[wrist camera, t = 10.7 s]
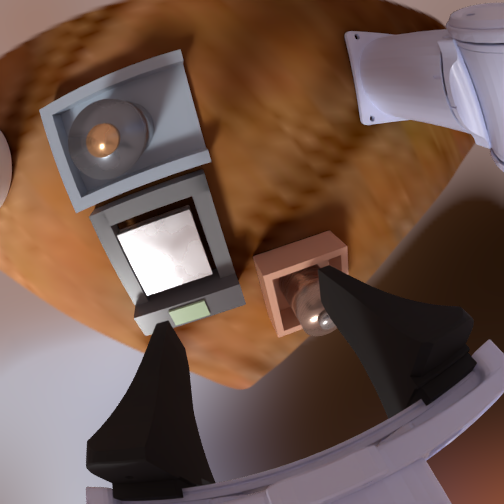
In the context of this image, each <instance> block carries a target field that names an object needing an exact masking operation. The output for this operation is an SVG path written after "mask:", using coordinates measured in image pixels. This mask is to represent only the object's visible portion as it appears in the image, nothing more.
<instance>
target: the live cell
mask: <svg viewBox="0 0 504 504" xmlns="http://www.w3.org/2000/svg"><path fill="white" fill-rule="evenodd" d="M153 134H154V123H153V120H152V117H151V115H150V113H149V112H148V111H147V110H146V109H145V108H144V107H143V106H141V105H139V104H137V103H133V102H128V101H123V100H118V99H102V100H98V101H95V102H93V103H91V104H89V105H88V106H86V107H85V108H84V109H83V110H82V111H81V112H80V113H79V114H78V115H77V117H76V118H75V120H74V121H73V123H72V126H71V128H70V132H69V137H68V148H69V153H70V156H71V159H72V161H73V163H74V164H75V166H76V167H77V168H78V169H79V170H80V171H81V172H82V173H84V174H85V175H87V176H89V177H91V178H95V179H101V180H105V179H112V178H116V177H118V176H120V175H122V174H124V173H126V172H127V171H128V170H129V169H131V168H132V167H133V165H134V164H135V163H136V162H137V160H138V159H139V158H140V157H141V155H142V154H143V153H144V152H145V150H146V149H147V148H148V147H149V145H150V143H151V141H152V138H153Z"/></svg>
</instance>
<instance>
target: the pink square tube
mask: <svg viewBox="0 0 504 504" xmlns="http://www.w3.org/2000/svg"><path fill="white" fill-rule="evenodd" d="M253 259H254V263H255V267H256V271H257V274H258V278H259V282H260V286H261V289H262V293H263V297H264V301H265V304H266V308H267V312H268V316H269V318H270V320H271V322H272V325H273V327H274V329H275V331H276V333H277V335H278V337H282V336H284V335H287V334H290V333H292V332H295V331H298V330H300V329H303V328H302V326H301V324H300V322H299V321H298V319H297V317H296V316H295V314H294V312H293V310H292V309H291V307H290V305H289V304H288V302H287V300H286V299H285V297H284V295H283V293H282V292H281V290H280V288H279V277H282V276H285V275H287V274H290V273H293V272H296V271H299V270H301V269H304V268H307V267H310V266H312V265H315V264H318V265H319V267H320V268H322V267H325V266H328V265H330V266H332V267H334V268H336V269H338V270H340V271H342V272H344V273H346V274H347V275H348V252H347V245H345V244H344V243H343V242H342V241H341V240H340V239H339V238H338V237H336V236H335V235H334V234H333V233H332V232H331V231H330V230H329V231H326V232H323V233H320V234H317V235H314V236H311V237H308V238H306V239H303V240H300V241H297V242H294V243H291V244H288V245H285V246H282V247H279V248H276V249H273V250H270V251H267V252H264V253H261V254H258V255H255V256H253Z"/></svg>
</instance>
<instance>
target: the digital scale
mask: <svg viewBox="0 0 504 504" xmlns="http://www.w3.org/2000/svg"><path fill="white" fill-rule="evenodd" d="M191 196H192V197H193V200H194V203H195V206H196V209H197V212H198V215H199V218H200V221H201V224H202V227H203V230H204V233H205V236H206V239H207V242H208V245H209V248H210V250H211V253H212V256H213V259H214V262H215V265H216V267H217V268H216V269H213V270H212V273H213V274H211V275H208V276H205V277H202V278H199V279H196V280H193V281H190V282H187V283H184V284H181V285H178V286H175V287H172V288H169V289H166V290H163V291H160V292H157V293H154V294H151V295H148V296H147V294H146V292H145V290H144V288H143V287H142V285H141V283H140V281H139V279H138V277H137V275H136V273H135V271H134V269H133V267H132V265H131V263H130V261H129V259H128V257H127V255H126V253H125V251H124V249H123V247H122V245H121V243H120V241H119V239H118V236H117V235H118V233H119V227H118V225H117V223H120V222H122V221H125V220H127V219H130V218H133V217H135V216H138V215H140V214H143V213H146V212H149V211H151V210H154V209H157V208H160V207H162V206H165V205H168V204H171V203H174V202H177V201H179V200H182V199H185V198H188V197H191ZM89 218H90V220H91V222H92V225H93V227H94V229H95V231H96V233H97V235H98V237H99V239H100V242H101V244H102V246H103V248H104V250H105V252H106V254H107V256H108V258H109V259H110V261H111V263H112V265H113V267H114V269H115V271H116V273H117V275H118V276H119V278H120V280H121V282H122V284H123V285H124V287H125V289H126V291H127V293H128V294H129V296H130V298H131V299H132V301H133V303H134V305H135V313H134V319H135V321H136V322H137V324H138V325H139V327H140V328H141V330H142V331H143V333H144V334H145V336H147V335H151V334H152V333H153V331H154V328H155V326H156V324H157V323H160V322H164V321H167V320H169V322H170V324H171V326H172V327H173V328H174V327H177V326H181V325H184V324H187V323H190V322H193V321H197V320H200V319H203V318H206V317H209V316H212V315H215V314H218V313H221V312H224V311H227V310H230V309H233V308H236V307H239V306H242V305H245V304H246V303H245V300H244V297H243V294H242V290H241V287H240V284H239V282H238V279H237V276H236V274H235V271H234V268H233V264H232V261H231V258H230V255H229V252H228V249H227V245H226V242H225V239H224V236H223V233H222V229H221V226H220V223H219V220H218V216H217V213H216V210H215V207H214V203H213V200H212V197H211V193H210V190H209V187H208V183H207V180H206V177H205V173H204V171H203V169H201V170H198V171H195V172H192V173H189V174H186V175H183V176H180V177H177V178H174V179H171V180H168V181H165V182H163V183H160V184H157V185H154V186H152V187H149V188H146V189H144V190H141V191H138V192H136V193H133V194H131V195H128V196H125V197H123V198H120V199H118V200H116V201H113V202H111V203H108V204H106V205H104V206H101V207H99V208H96V209H94V211H93V212H92V213H91V215H90V216H89Z"/></svg>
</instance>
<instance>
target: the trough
mask: <svg viewBox="0 0 504 504" xmlns="http://www.w3.org/2000/svg"><path fill="white" fill-rule="evenodd" d="M183 61H184V60H183V56H182V53H181V49H179V50H176V51H172V52H169V53H166V54H162V55H159V56H156V57H153V58H150V59H147V60H144V61H141V62H138V63H136V64H133V65H130V66H128V67H125V68H123V69H120V70H118V71H115V72H113V73H110V74H108V75H106V76H103V77H101V78H99V79H97V80H95V81H92V82H90V83H88V84H86V85H84V86H82V87H80V88H78V89H76V90H74V91H72V92H70V93H68V94H66V95H65V96H63V97H61V98H59V99H57V100H56V101H54V102H52V103H50V104H49V105H47V106H45V107H44V108H42V109H40V114H41V118H42V121H43V125H44V128H45V131H46V135H47V138H48V141H49V144H50V147H51V150H52V153H53V156H54V159H55V162H56V164H57V167H58V170H59V172H60V175H61V178H62V180H63V183H64V185H65V188H66V190H67V193H68V195H69V198H70V200H71V202H72V205H73V207H74V209H75V211H76V213H78V212H80V211H82V210H84V209H86V208H89V207H91V206H93V205H95V204H98V203H100V202H102V201H105V200H107V199H109V198H112V197H114V196H117V195H119V194H122V193H124V192H127V191H129V190H132V189H134V188H137V187H139V186H142V185H145V184H147V183H150V182H153V181H156V180H158V179H161V178H164V177H167V176H170V175H172V174H175V173H178V172H181V171H184V170H187V169H190V168H193V167H196V166H200V165H203V164H206V163H209V162H211V159H210V155H209V151H208V149H207V148H206V146H205V143H204V139H203V135H202V132H201V128H200V125H199V121H198V118H197V114H196V110H195V107H194V103H193V99H192V96H191V92H190V88H189V85H188V81H187V77H186V74H185V70H184V66H183ZM102 99H118V100H123V101H128V102H133V103H137V104H139V105H141V106H143V107H144V108H145V109H146V110H147V111H148V112H149V113H150V115H151V117H152V120H153V123H154V134H153V138H152V141H151V143H150V145H149V147H148V148H147V149H146V150H145V152H144V153H143V154H142V155H141V157H140V158H139V159H138V160H137V162H136V163H135V164H134V165H133V167H132V168H131V169H129V170H128V171H127V172H126V173H124V174H122V175H120V176H118V177H116V178H112V179H105V180H101V179H95V178H91V177H89V176H87V175H85V174H84V173H82V172H81V171H80V170H79V169H78V168H77V167H76V166H75V164H74V163H73V161H72V159H71V156H70V153H69V148H68V137H69V132H70V128H71V126H72V123H73V121H74V120H75V118H76V117H77V115H78V114H79V113H80V112H81V111H82V110H83V109H84V108H85V107H86V106H88V105H89V104H91V103H93V102H95V101H98V100H102Z"/></svg>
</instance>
